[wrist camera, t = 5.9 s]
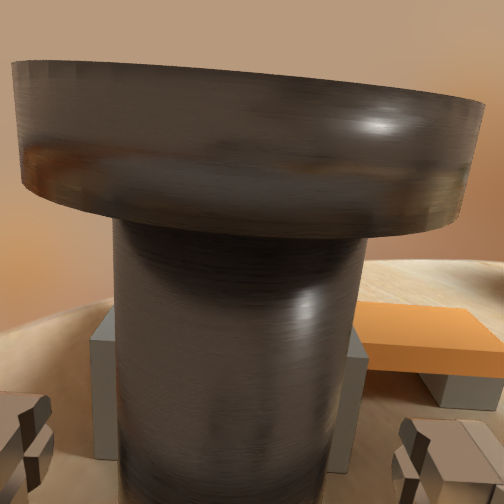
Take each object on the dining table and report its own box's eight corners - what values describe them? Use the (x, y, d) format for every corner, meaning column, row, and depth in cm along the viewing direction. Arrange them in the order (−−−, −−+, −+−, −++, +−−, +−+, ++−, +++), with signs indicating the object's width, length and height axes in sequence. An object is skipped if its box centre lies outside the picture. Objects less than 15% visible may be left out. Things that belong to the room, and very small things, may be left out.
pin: (304, 602, 13) (391, 108, 8) (345, 948, 8) (637, 106, 3) (118, 594, 13) (106, 84, 8) (25, 942, 7) (-152, 35, 3)
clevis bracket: (434, 337, 30) (453, 263, 28) (556, 485, 18) (601, 373, 16) (156, 317, 29) (157, 241, 27) (94, 458, 17) (89, 339, 16)
